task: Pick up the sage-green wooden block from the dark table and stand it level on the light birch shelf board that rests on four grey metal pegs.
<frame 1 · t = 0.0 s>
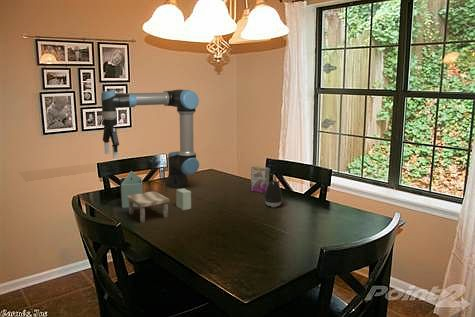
hand: (111, 155, 233), 28 cm above the table, tool pointing down, fingers open, 13 cm apart
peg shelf: (148, 215, 217), on the table
mug: (130, 199, 245), on the table
teal gabled house: (137, 205, 234), on the table
dark grey cone: (273, 206, 235), on the table
sage block: (183, 207, 230), on the table
candy bar box: (259, 192, 263), on the table
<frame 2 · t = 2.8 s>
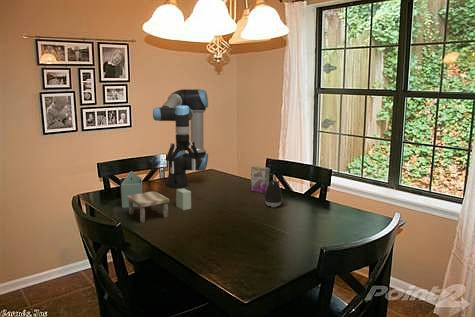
hand: (183, 171, 226), 21 cm above the table, tool pointing down, fingers open, 13 cm apart
nothing on the table moved.
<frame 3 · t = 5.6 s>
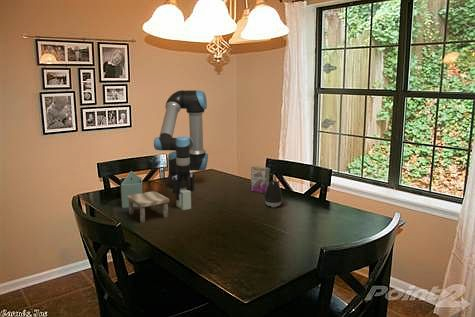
hand: (183, 204, 230), 2 cm above the table, tool pointing down, fingers closed on sage block, 5 cm apart
sage block: (183, 207, 230), on the table, touching gripper
everything else where it was.
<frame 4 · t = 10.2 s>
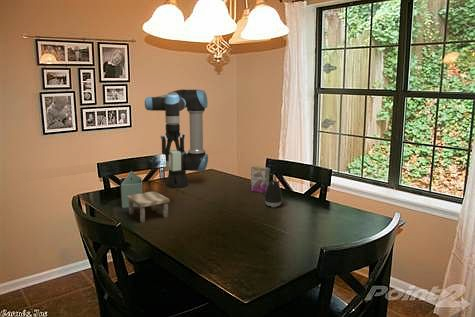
hand: (173, 165, 221), 25 cm above the table, tool pointing down, fingers closed on sage block, 5 cm apart
sage block: (173, 169, 222), point 23 cm above the table, touching gripper
everything else where it was.
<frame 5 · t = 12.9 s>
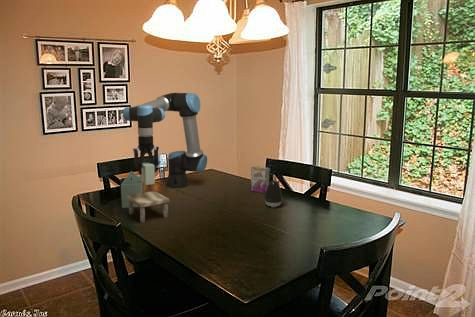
hand: (147, 179, 213), 20 cm above the table, tool pointing down, fingers closed on sage block, 5 cm apart
sage block: (147, 182, 213), point 18 cm above the table, touching gripper
everything else where it was.
when the fingers open (13 cm above the table, at t = 15.0 s): sage block drops 1 cm, resting on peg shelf.
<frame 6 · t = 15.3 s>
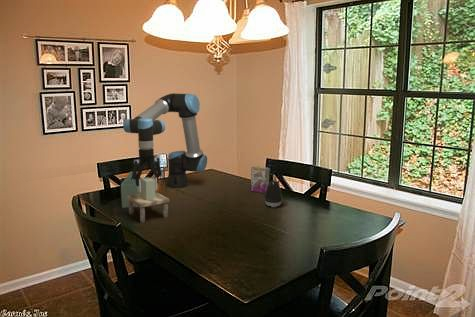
hand: (147, 190, 214), 14 cm above the table, tool pointing down, fingers open, 8 cm apart
sage block: (147, 197, 215), point 10 cm above the table, touching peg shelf
everything else where it was.
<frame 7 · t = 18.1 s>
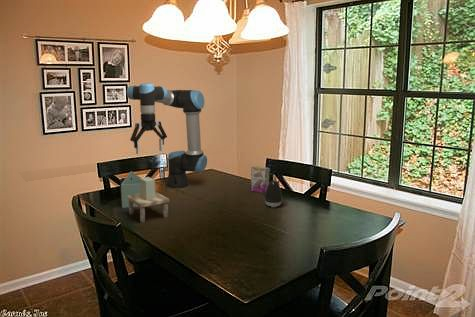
hand: (149, 152, 218), 33 cm above the table, tool pointing down, fingers open, 13 cm apart
nothing on the table moved.
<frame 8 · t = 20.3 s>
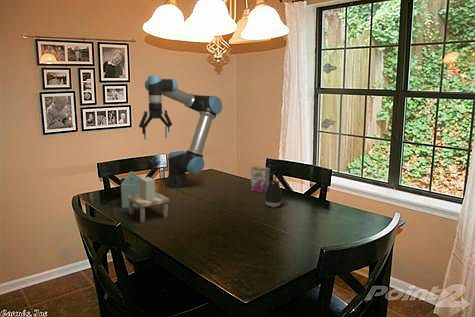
hand: (156, 138, 240), 37 cm above the table, tool pointing down, fingers open, 13 cm apart
nothing on the table moved.
at the end: sage block inside the target area on the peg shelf (0.0 cm from its centre), point 10.0 cm above the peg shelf's base; sage block tilted 0°; the gripper is holding nothing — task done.
